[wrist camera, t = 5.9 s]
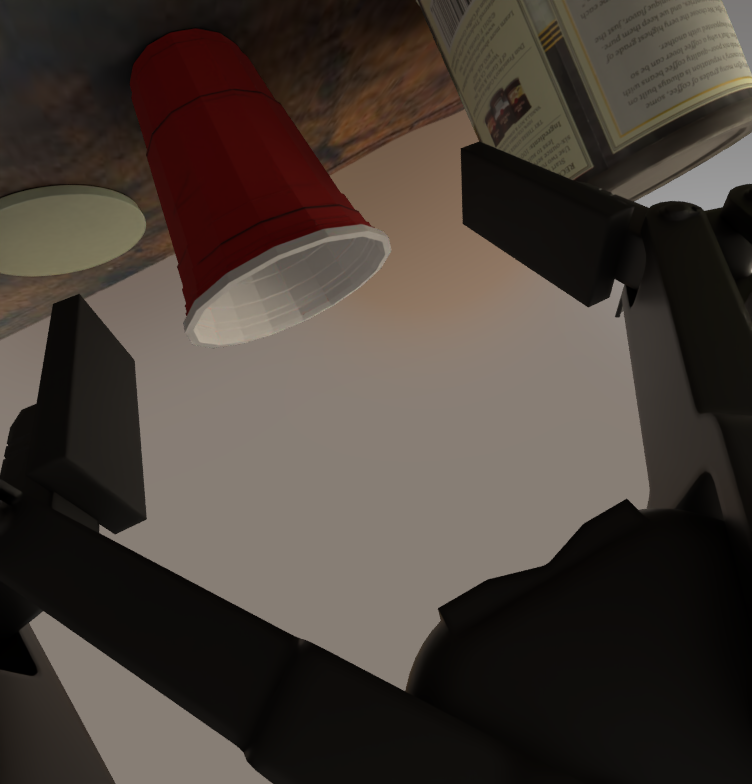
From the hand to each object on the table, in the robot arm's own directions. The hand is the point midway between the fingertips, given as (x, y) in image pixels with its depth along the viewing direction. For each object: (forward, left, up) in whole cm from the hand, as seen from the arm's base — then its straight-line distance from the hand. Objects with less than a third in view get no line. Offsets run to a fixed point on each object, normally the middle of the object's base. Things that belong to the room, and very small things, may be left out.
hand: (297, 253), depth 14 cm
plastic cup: (0, -7, -12) cm, 14 cm away
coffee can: (+16, -3, -12) cm, 20 cm away
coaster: (-11, -16, -12) cm, 23 cm away
